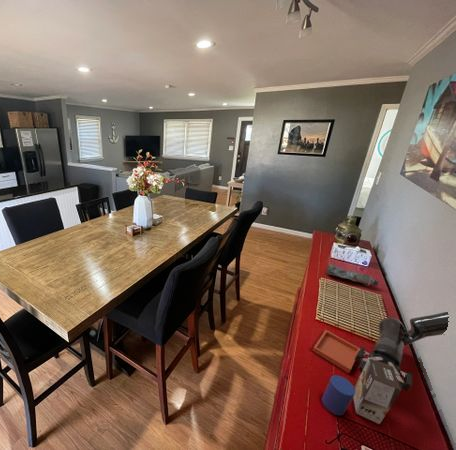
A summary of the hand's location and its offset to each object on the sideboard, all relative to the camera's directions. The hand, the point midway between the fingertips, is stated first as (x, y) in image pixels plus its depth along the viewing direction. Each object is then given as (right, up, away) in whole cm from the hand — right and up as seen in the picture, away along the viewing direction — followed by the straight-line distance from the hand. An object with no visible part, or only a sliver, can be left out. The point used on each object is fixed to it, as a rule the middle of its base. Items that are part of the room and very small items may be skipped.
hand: (378, 380), depth 79 cm
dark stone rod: (+45, +17, +68) cm, 83 cm away
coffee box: (-4, -9, +1) cm, 10 cm away
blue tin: (-14, -9, +1) cm, 17 cm away
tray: (+1, -1, +20) cm, 20 cm away
